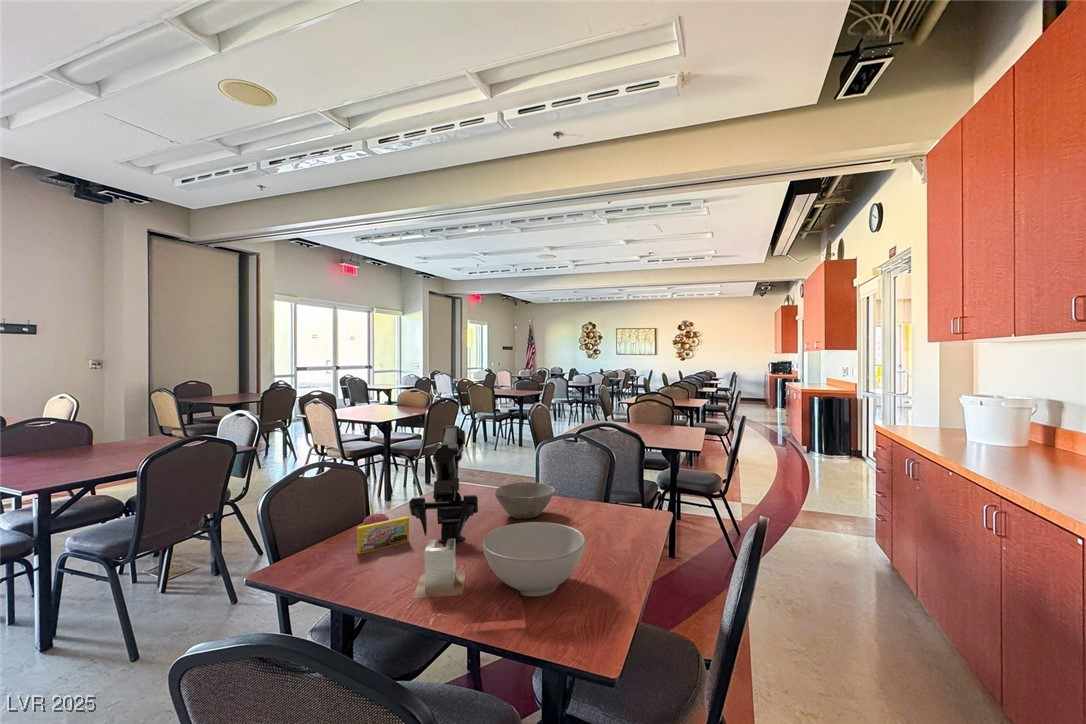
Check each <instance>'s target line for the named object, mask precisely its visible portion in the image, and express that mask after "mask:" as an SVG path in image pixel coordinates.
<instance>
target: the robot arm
mask: <svg viewBox="0 0 1086 724" xmlns="http://www.w3.org/2000/svg"><path fill="white" fill-rule="evenodd" d="M465 445H466V431H465V430H463V429H461V428H460V426H459V425H446V426H444V428H443V430H442V431H440V444H438V445H437V448H436V450H434V453H433V456H432V460H433V463H434V467H435V471H436V480H434V482H433V497H432V498H433V500H434V501H426V499H425V497H424V496H423V497H422V496H421V497H412V498H411V499H410V500H409V504H408V506H409V512H410V515H411V516H412V517H415V518H416V519H419V520H420V523H421V526H422V530H423V534H424V536H425V537H426V536H427V532H428V517H427V510H436V512H437V513H436V515H437V525H441V529H440V535H441V537H440V539H438V540H437V542H438V543H443V544H447V540H448V539H454V538H455V545H456V544H457V543H460V542H461V541H463V540H465V539H466V536H464V535H463V536H462V532H463V529H464V527H465V525H466V524H467V521H468V520H469V518H470V517H472V516H474V514H477V513H479V500H478V499H479V497H478V495H476V494H470V495H469V494H467V495H466V494H465V495H463V498H462V496H461V494H460V493H459V492H458V491H460V478H459V465H460V464H459V463H460V462H461V460H462V458H463V452H464V447H465ZM462 499H463V500H462Z"/></svg>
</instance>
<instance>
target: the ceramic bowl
mask: <svg viewBox="0 0 1086 724" xmlns="http://www.w3.org/2000/svg"><path fill="white" fill-rule="evenodd" d="M555 492H556V488H555V487H554V486H553V485H550V484H546V483H540V482H514V483H513V482H512V483H508V484H504V485H501V486H499V487H497V488H496V489H495V490H494V495H495V497H496V500H497V501H498V503H499V504H500V506H501V508H503V510H504V511H505V512H506V513H507V514H508V515H509V516H511V517H512V518H514V519H522V520H523V519H532V518H537V517H538V516H539V515H541V514H542V513H543V511H544V510H545V509H546V507H547V506H548V504H549V503H550V501H551V499H552V497H553V495H554V493H555Z"/></svg>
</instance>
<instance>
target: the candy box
mask: <svg viewBox="0 0 1086 724" xmlns="http://www.w3.org/2000/svg"><path fill="white" fill-rule="evenodd" d="M356 529H357V531H356V532H357V533H356V534H357V535H356V537H357V540H356V542H357V543H356V553H357V554H358V555H363V554H366V553H369V552H375V551H377V550H383V549H386V548H390V547H394V546H398V545H403V544H405V543H410V517H408V516H407V515H406V516H403V517H399V518H394V519H389V520H388V521H383V522H378V523H373V524H369V525H364V526H363V525H361V526H357V527H356Z"/></svg>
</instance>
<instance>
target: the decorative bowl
mask: <svg viewBox="0 0 1086 724" xmlns="http://www.w3.org/2000/svg"><path fill="white" fill-rule="evenodd" d="M481 547H482V550H483V551H482V552H483V555H484V556H485V558H486V561H487V563H488V566H490V568H491V570H492V572H493V573H494V574H495V576H497V578H498V579H499V580H501V581H502V582H503V583H504V584H506V585H507V586H508V587H510V588H513V589H515V590H517V591H519V594H520V595H521V596H525V597H542V596H546V595H550V594H552V593H553V592H555V591H556V590H557V589H558V588H559V585H560V584H562V583H564V582H565V581H566V580H568V578H569V577H571V576H572V575H573V572H574V571H575V569H576V568H577V567H578V566H579V563H580V561H581V559H582V557H583V553H584V550H585V547H586V537H585V536H584V534H583V533H582V532H581V531H579V530H578V529H576V528H574V527H571V526H570V525H569V526H568V525H564V524H561V523H555V522H544V521H543V522H542V521H532V522H531V521H529V522H519V523H513V524H508V525H503V526H501V527H498V528H495V529H493V530H491V531H489V532H488V533H487V534H485V536H483V539H482V541H481Z"/></svg>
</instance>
